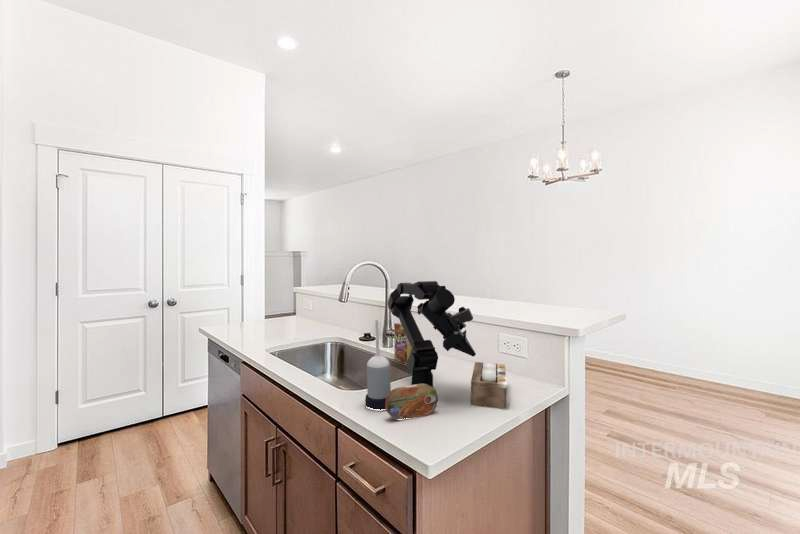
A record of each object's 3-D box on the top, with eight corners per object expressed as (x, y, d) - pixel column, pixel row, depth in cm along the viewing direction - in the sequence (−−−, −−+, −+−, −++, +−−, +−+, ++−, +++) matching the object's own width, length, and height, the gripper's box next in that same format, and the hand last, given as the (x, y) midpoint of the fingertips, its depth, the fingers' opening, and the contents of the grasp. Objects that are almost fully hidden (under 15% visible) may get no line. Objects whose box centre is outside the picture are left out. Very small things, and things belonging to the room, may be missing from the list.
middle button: (482, 380, 117) (482, 365, 117) (483, 375, 121) (483, 362, 121) (495, 381, 116) (496, 366, 116) (495, 377, 120) (496, 363, 120)
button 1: (481, 387, 111) (481, 372, 110) (482, 382, 114) (482, 368, 114) (495, 388, 110) (495, 373, 109) (495, 384, 113) (496, 369, 113)
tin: (388, 423, 98) (388, 391, 98) (383, 418, 101) (383, 387, 101) (438, 413, 104) (438, 383, 104) (433, 409, 107) (433, 380, 107)
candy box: (393, 359, 156) (393, 322, 155) (401, 357, 159) (402, 321, 158) (406, 364, 149) (406, 326, 148) (414, 362, 151) (415, 325, 151)
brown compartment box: (470, 405, 110) (471, 380, 110) (474, 382, 129) (475, 361, 129) (506, 408, 108) (506, 384, 107) (504, 384, 127) (505, 363, 127)
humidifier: (382, 396, 115) (380, 316, 113) (399, 405, 109) (397, 320, 107) (359, 404, 110) (357, 320, 108) (376, 414, 104) (373, 325, 102)
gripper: (454, 303, 105) (495, 344, 103) (459, 296, 123) (493, 331, 121) (426, 330, 107) (465, 371, 105) (435, 319, 125) (468, 354, 123)
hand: (474, 355), depth 113 cm, fingers closed
